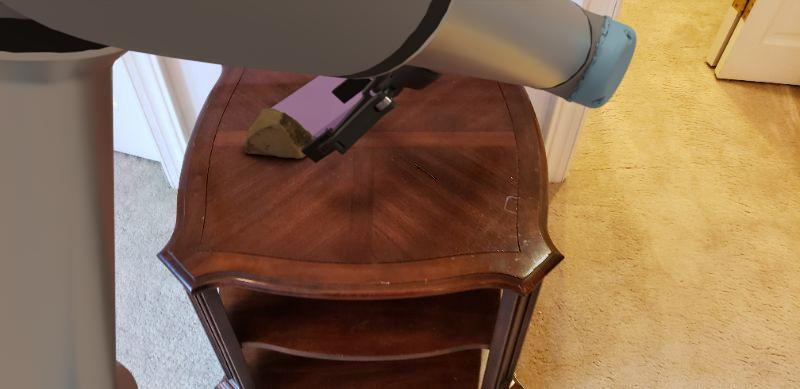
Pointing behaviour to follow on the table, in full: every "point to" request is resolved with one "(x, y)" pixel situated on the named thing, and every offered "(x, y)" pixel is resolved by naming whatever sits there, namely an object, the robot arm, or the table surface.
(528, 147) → the table surface
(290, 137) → the rock
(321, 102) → the lavender flat block
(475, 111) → the table surface
